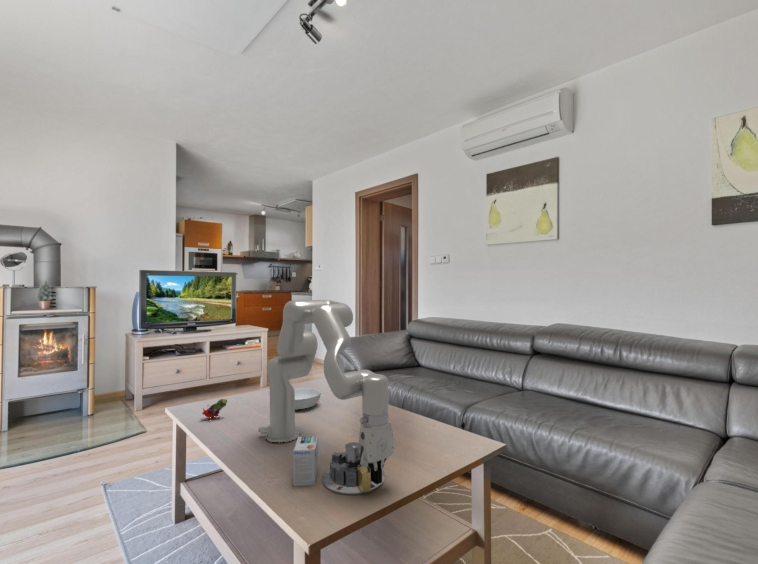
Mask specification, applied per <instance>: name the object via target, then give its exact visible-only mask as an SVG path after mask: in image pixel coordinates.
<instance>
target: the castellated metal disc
mask: <svg viewBox="0 0 758 564" xmlns="http://www.w3.org/2000/svg"><path fill="white" fill-rule="evenodd" d="M329 468H330V478H331V479H332V480H333V481H334V482H335V483H337V484H340V485H343V486H344V485H345V484H346V486H358V487H359V488H360V490H361V491H362V493H363V492H368V491H371V490H370V482H371V468H369V467H363V466H359V467H357V468H350V464H347V463H345V452H337V451H336V452H334V453H332V454H331V459H330V462H329Z"/></svg>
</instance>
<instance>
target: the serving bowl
mask: <svg viewBox="0 0 758 564" xmlns="http://www.w3.org/2000/svg"><path fill="white" fill-rule="evenodd" d="M293 388H294V387H293ZM294 391H295V411H299V410H298V409H302V410H305V408H306V409H308V408H311V407H313V406H315V405H317V403H318V402H319V401H320V398H321V394H322V392H321V390H320V389H318V388H314V387H295V388H294Z"/></svg>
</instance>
